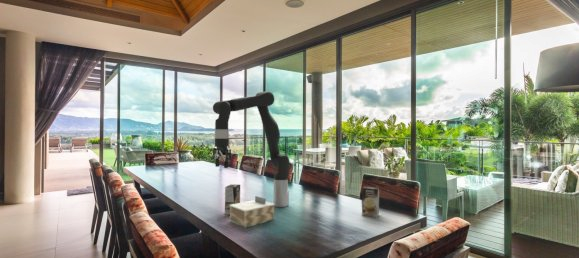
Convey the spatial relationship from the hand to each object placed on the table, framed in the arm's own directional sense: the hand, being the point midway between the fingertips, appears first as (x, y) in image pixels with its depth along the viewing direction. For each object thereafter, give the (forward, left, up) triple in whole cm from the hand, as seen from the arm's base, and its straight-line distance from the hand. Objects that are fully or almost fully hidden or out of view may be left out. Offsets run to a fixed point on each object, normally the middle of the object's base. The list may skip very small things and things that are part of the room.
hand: (221, 167), depth 162 cm
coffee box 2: (-69, +51, -29) cm, 90 cm away
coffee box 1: (-12, -7, -29) cm, 32 cm away
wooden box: (-12, +13, -29) cm, 34 cm away
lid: (-12, +13, -21) cm, 27 cm away
